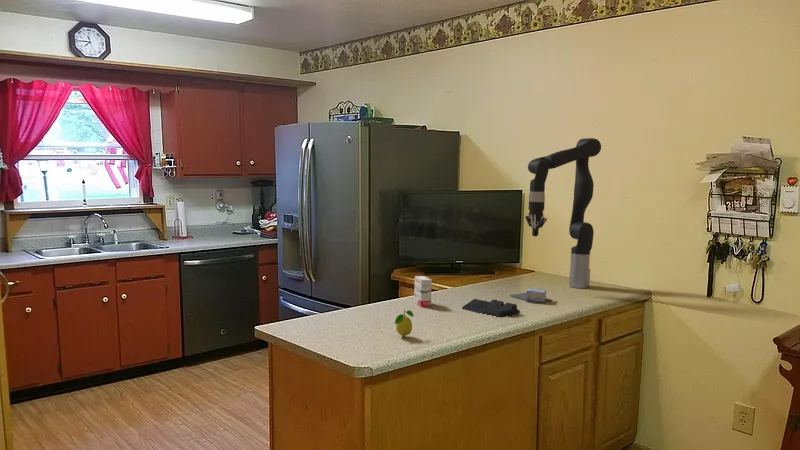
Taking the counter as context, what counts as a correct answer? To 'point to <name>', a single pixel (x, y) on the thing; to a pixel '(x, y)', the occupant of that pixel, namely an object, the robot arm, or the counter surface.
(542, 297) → the medicine box
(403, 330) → the lemon
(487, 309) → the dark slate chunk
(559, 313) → the counter surface
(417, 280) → the ink box
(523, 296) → the mat
